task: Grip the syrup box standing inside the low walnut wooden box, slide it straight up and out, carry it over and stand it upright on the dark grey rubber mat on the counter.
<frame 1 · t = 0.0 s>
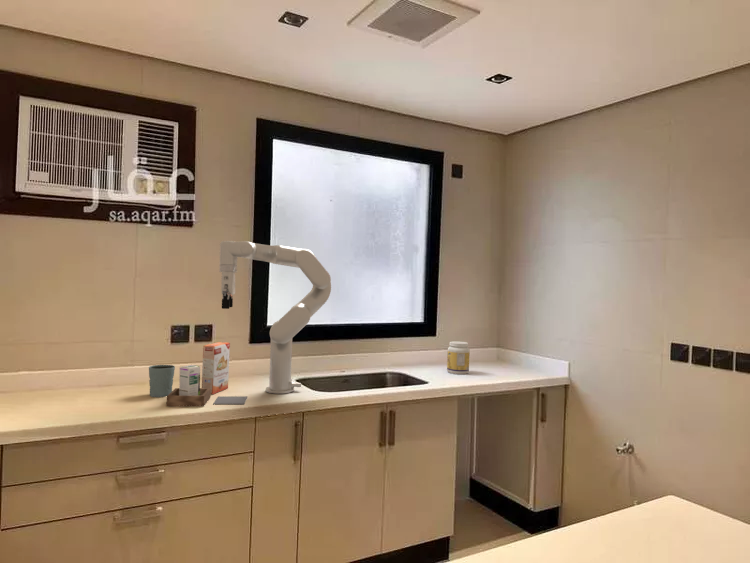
hand: (227, 307, 228), 37 cm above the worktop, tool pointing down, fingers open, 9 cm apart
grey mat: (230, 400, 212), on the worktop
cracker box: (215, 391, 228), on the worktop
walnut box: (189, 401, 208), on the worktop
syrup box: (189, 402, 208), resting in walnut box
supplement tub: (457, 372, 290), on the worktop
teal cup: (161, 395, 219), on the worktop
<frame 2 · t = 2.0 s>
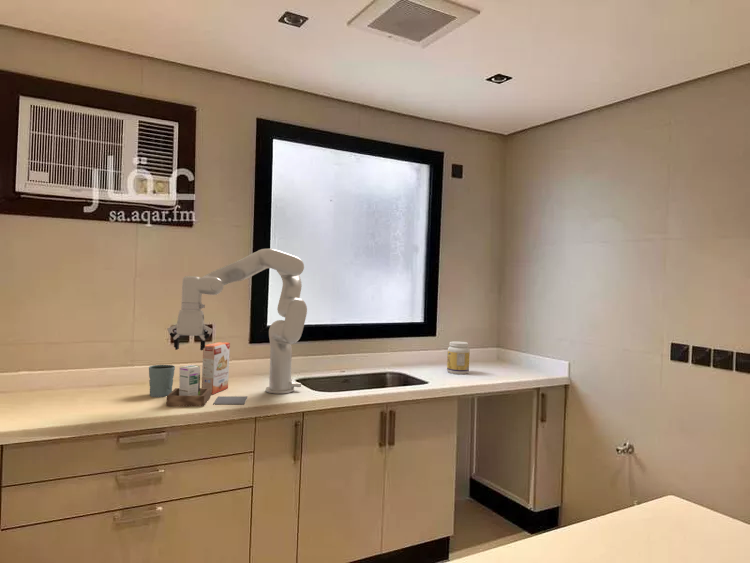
hand: (189, 349, 208), 21 cm above the worktop, tool pointing down, fingers open, 9 cm apart
nothing on the worktop moved.
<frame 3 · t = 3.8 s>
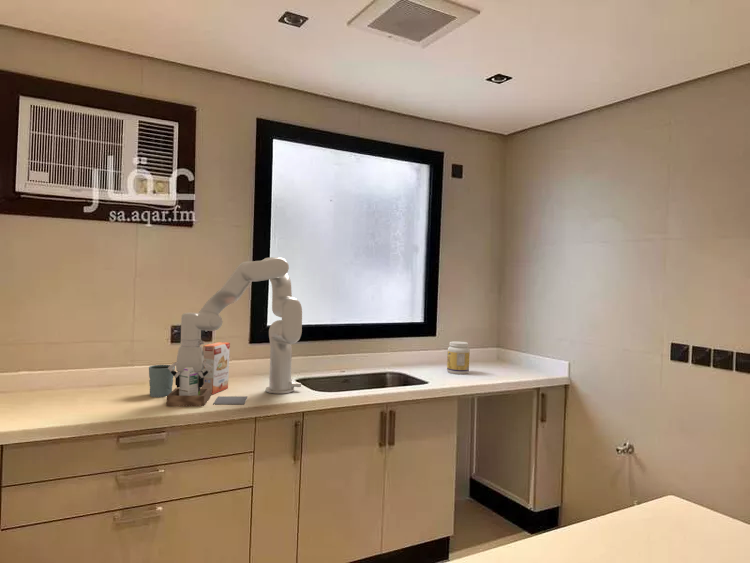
hand: (189, 386, 208), 6 cm above the worktop, tool pointing down, fingers closed on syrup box, 8 cm apart
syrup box: (189, 402, 208), resting in walnut box, touching gripper
everything else where it was.
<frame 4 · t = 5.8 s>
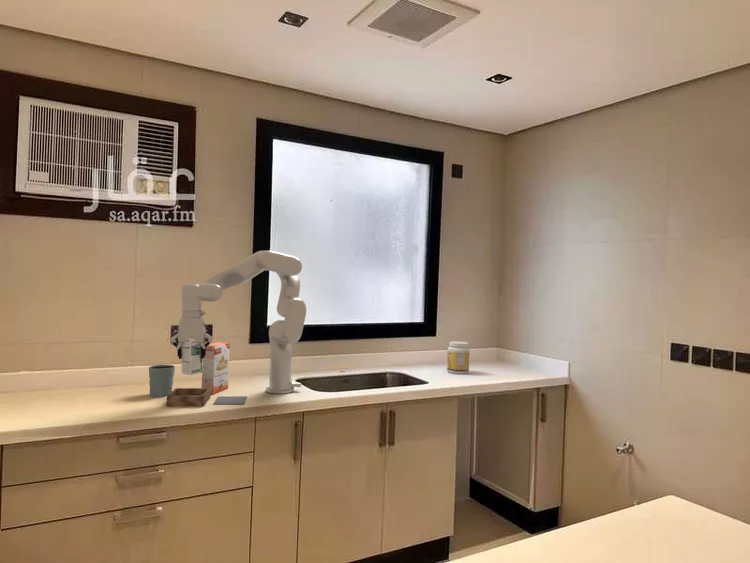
hand: (191, 358, 208), 18 cm above the worktop, tool pointing down, fingers closed on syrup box, 8 cm apart
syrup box: (191, 373, 208), point 11 cm above the worktop, touching gripper
everything else where it was.
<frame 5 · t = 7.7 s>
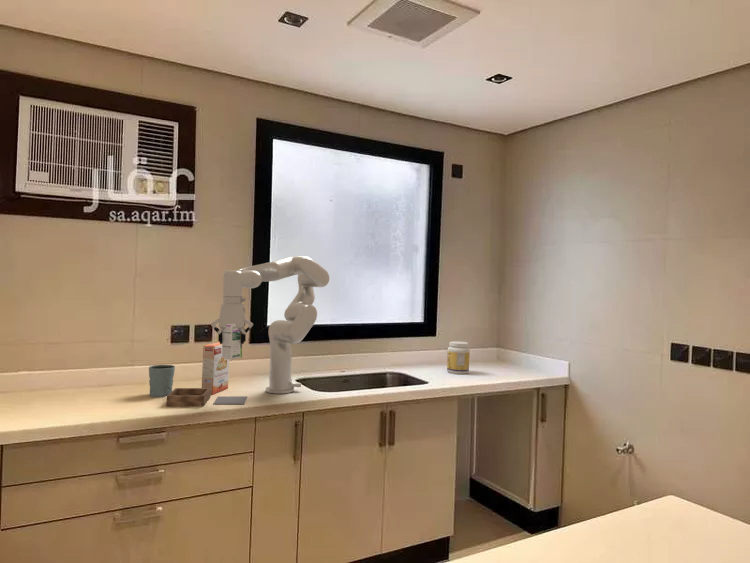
hand: (232, 343, 212), 24 cm above the worktop, tool pointing down, fingers closed on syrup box, 8 cm apart
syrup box: (231, 358, 212), point 17 cm above the worktop, touching gripper
everything else where it was.
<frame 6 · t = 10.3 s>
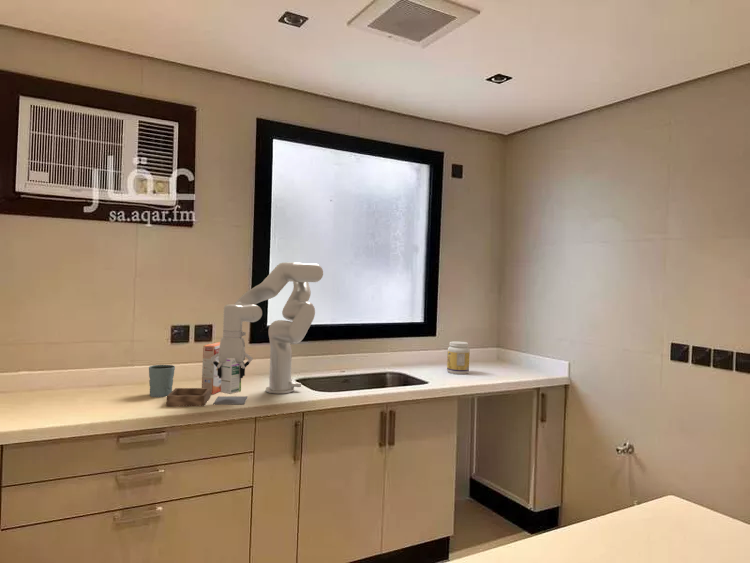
hand: (231, 377, 212), 10 cm above the worktop, tool pointing down, fingers closed on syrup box, 8 cm apart
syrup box: (230, 392, 212), point 3 cm above the worktop, touching gripper
everything else where it was.
when the fingers open (8 cm above the worktop, at t = 11.8 s): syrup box drops 1 cm, resting on grey mat.
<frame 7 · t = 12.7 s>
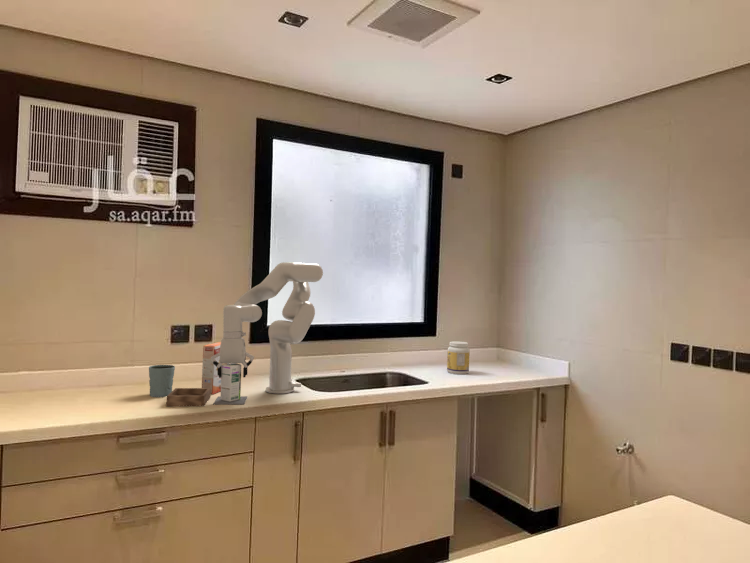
hand: (232, 376, 212), 10 cm above the worktop, tool pointing down, fingers open, 9 cm apart
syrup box: (230, 400, 212), resting on grey mat, touching gripper
everything else where it was.
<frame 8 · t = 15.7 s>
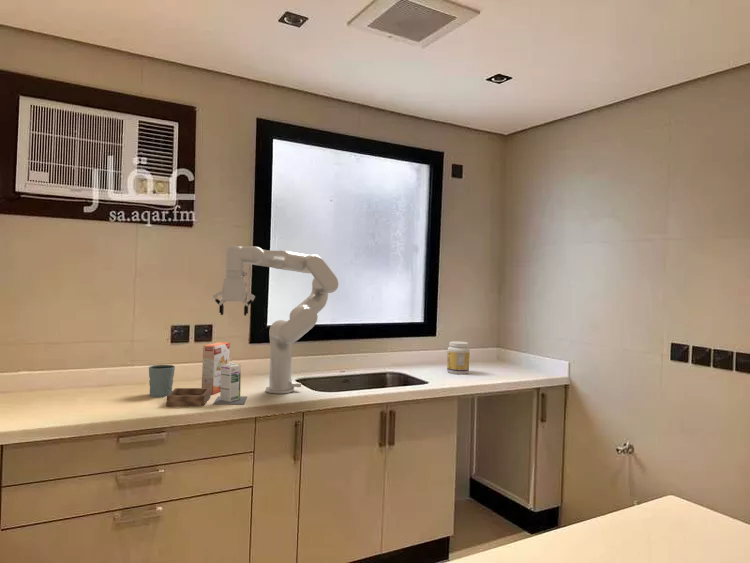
hand: (233, 315, 221), 34 cm above the worktop, tool pointing down, fingers open, 9 cm apart
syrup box: (230, 400, 212), resting on grey mat
everything else where it was.
at the end: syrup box inside the target area on the grey mat (0.3 cm from its centre), point 0.2 cm above the grey mat's base; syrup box tilted 0°; the gripper is holding nothing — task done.
